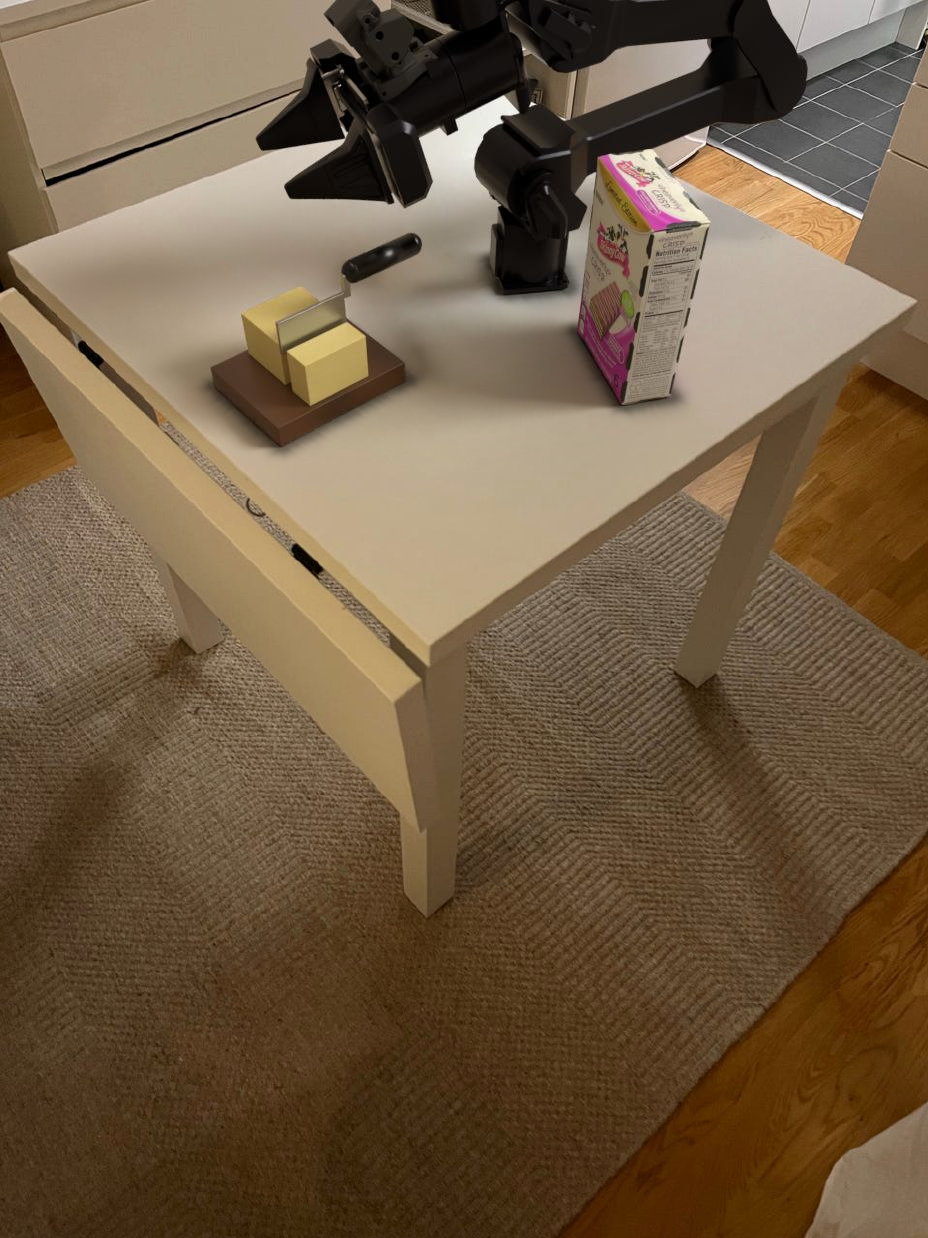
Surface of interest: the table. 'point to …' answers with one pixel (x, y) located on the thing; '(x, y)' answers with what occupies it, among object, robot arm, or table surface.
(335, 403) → the board
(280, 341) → the knife
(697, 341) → the table surface
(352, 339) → the butter
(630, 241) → the candy bar box
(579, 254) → the table surface
